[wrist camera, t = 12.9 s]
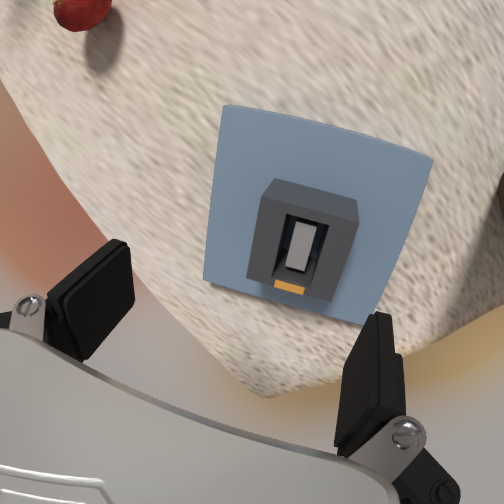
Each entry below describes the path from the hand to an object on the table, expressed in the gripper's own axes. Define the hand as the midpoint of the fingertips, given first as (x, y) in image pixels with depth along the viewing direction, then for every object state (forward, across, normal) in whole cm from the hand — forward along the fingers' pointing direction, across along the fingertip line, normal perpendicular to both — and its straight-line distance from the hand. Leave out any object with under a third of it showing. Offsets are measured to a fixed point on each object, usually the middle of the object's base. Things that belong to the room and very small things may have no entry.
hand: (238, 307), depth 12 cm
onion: (+20, +23, -15) cm, 34 cm away
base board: (+19, -1, +4) cm, 20 cm away
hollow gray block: (+17, -1, +4) cm, 18 cm away
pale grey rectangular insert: (+17, -1, +4) cm, 18 cm away
